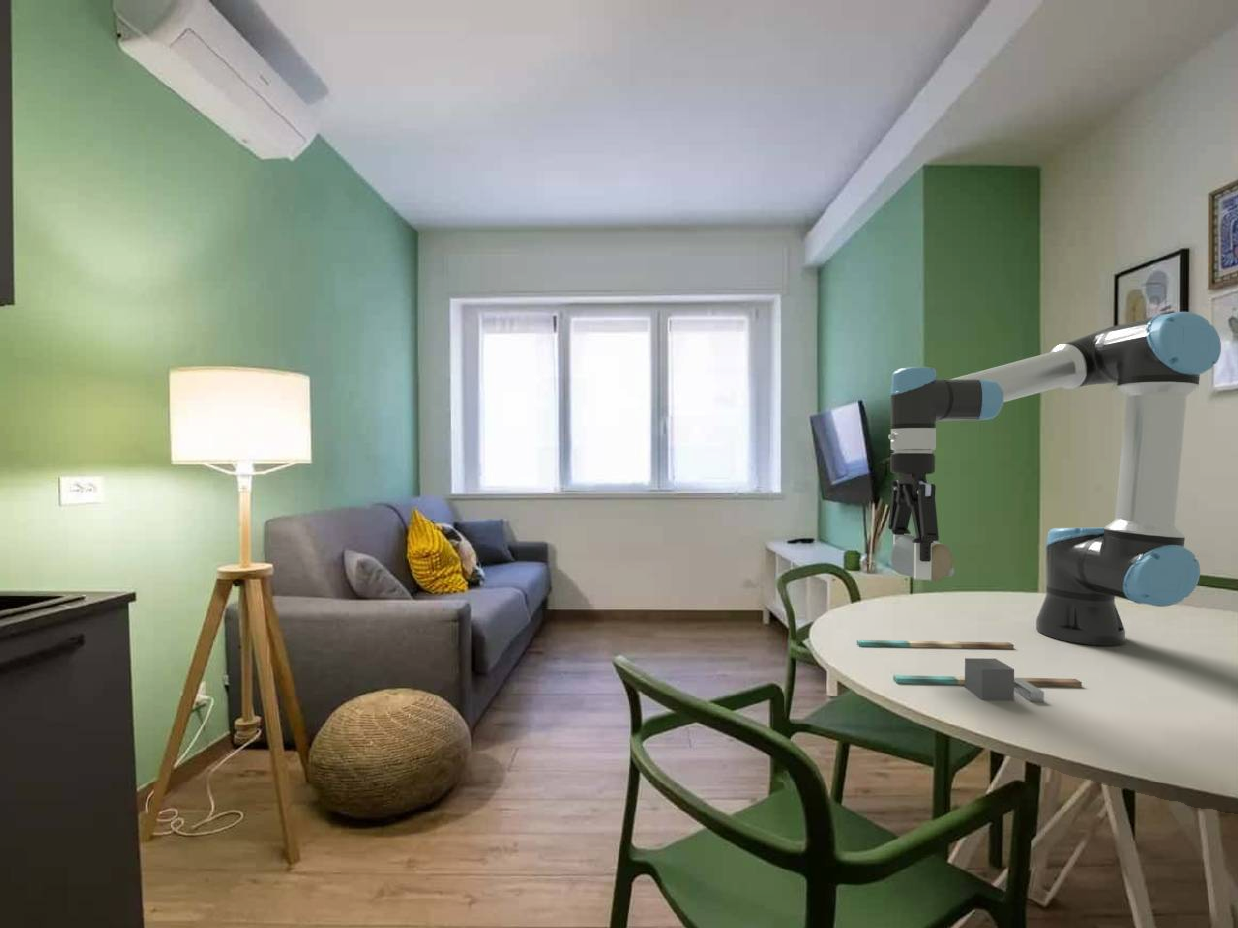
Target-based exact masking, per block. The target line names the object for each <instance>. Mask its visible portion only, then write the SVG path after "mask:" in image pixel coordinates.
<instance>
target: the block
mask: <svg viewBox="0 0 1238 928" xmlns="http://www.w3.org/2000/svg"><path fill="white" fill-rule="evenodd" d="M964 677H965V685H964V688H965V689H966V690H967V691H969V692H970V693H971V694H973V695H974V696H975V697H977V698H978V699H979V700H981V701H1015V691H1014V678H1015V668H1012V666H1009V665H1007V664H1006V663H1004V662H1003V661H1001V660H1000V659H998V658H984V657H983V658H977V657H976V658H971V657H970V658H967V657H966V658H964Z"/></svg>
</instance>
